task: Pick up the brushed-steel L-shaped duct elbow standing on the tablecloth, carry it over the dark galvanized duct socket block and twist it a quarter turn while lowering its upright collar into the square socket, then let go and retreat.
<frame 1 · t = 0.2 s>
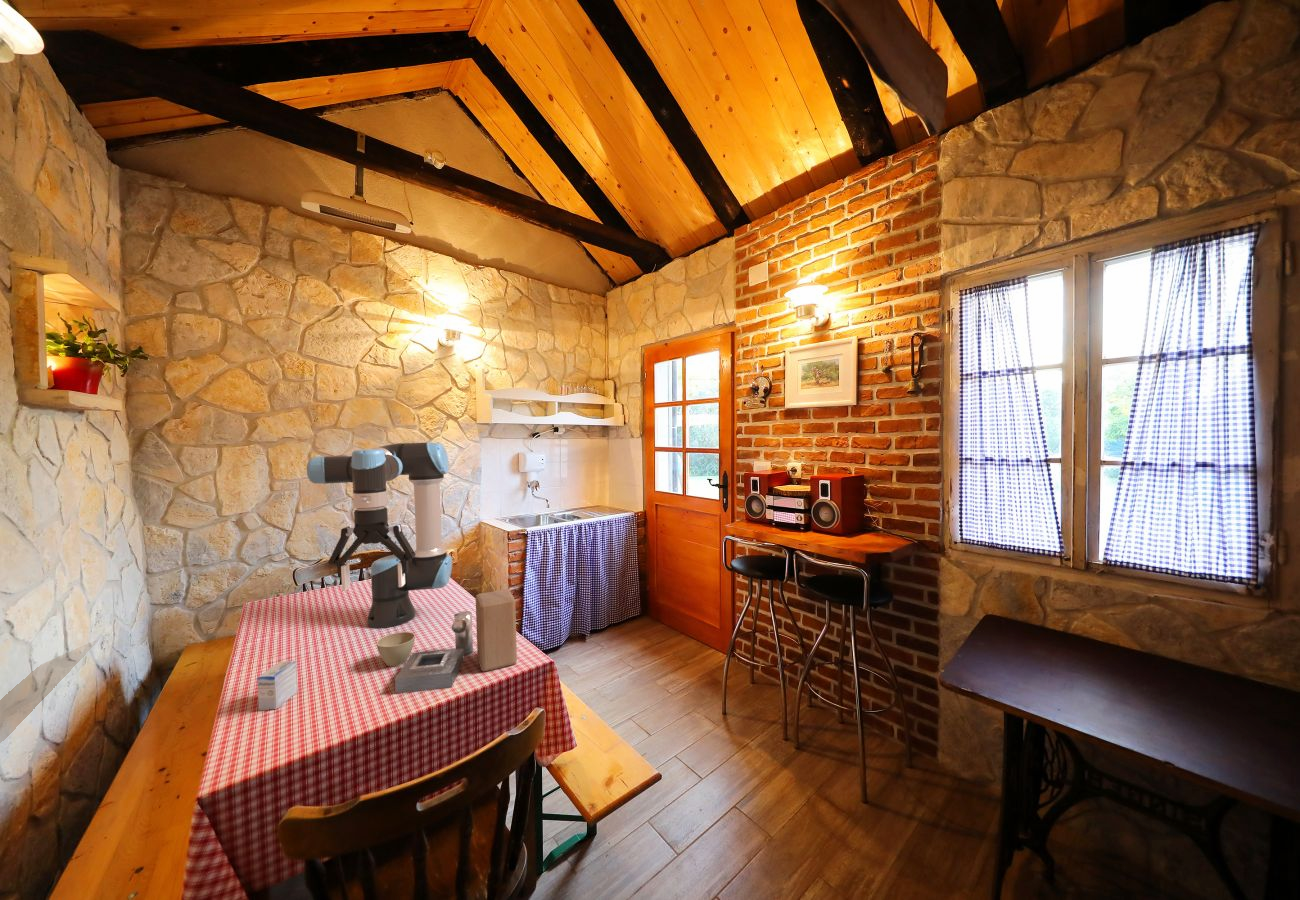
hand: (374, 587, 122), 28 cm above the table, fingers open, 13 cm apart
elbow: (464, 652, 143), on the table
duct socket: (431, 676, 129), on the table
flower pot: (397, 662, 137), on the table
block: (497, 662, 137), on the table
medicine box: (279, 701, 118), on the table
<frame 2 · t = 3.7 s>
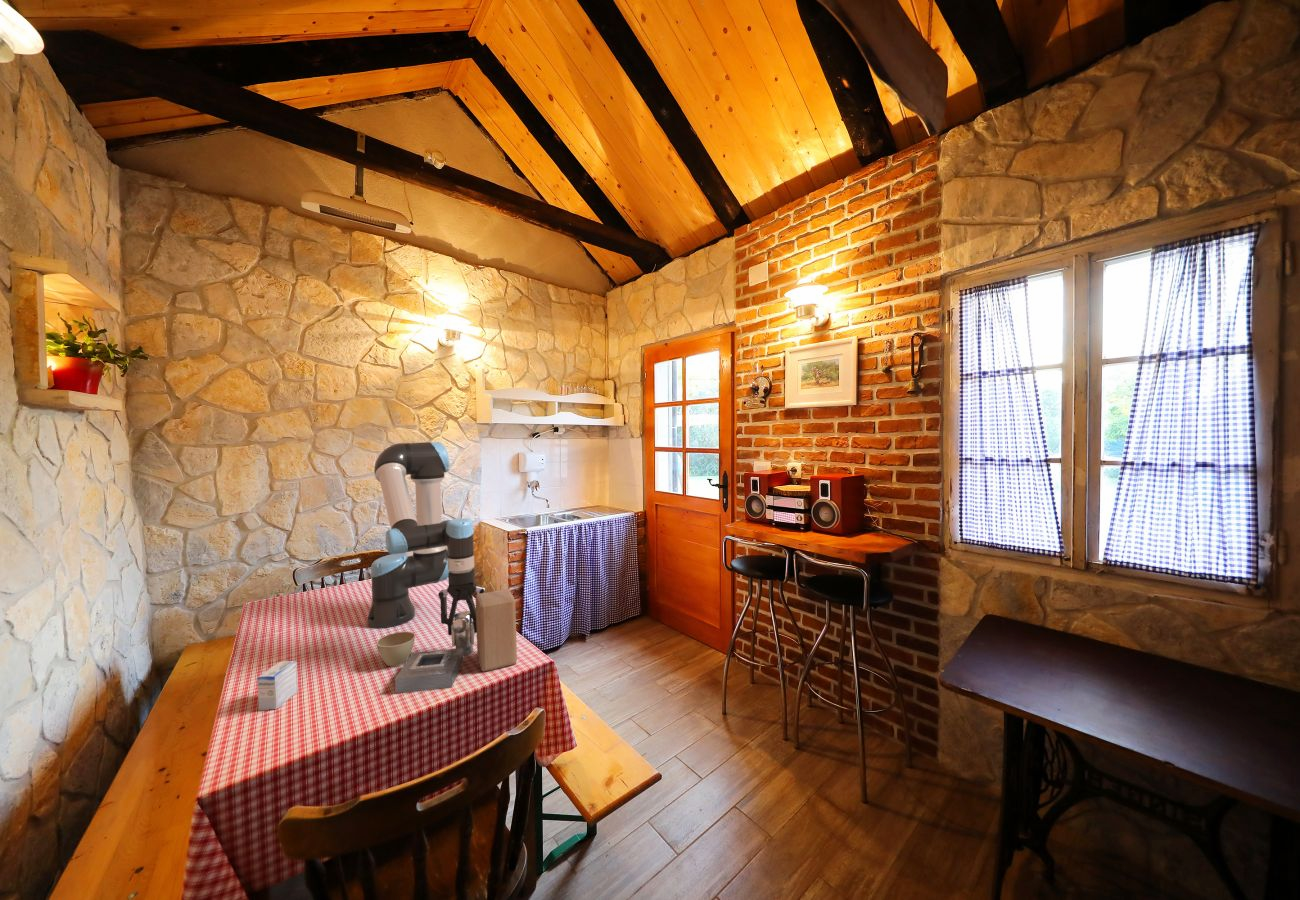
hand: (464, 643, 143), 3 cm above the table, fingers closed on elbow, 5 cm apart
elbow: (464, 652, 143), on the table, touching gripper
everything else where it was.
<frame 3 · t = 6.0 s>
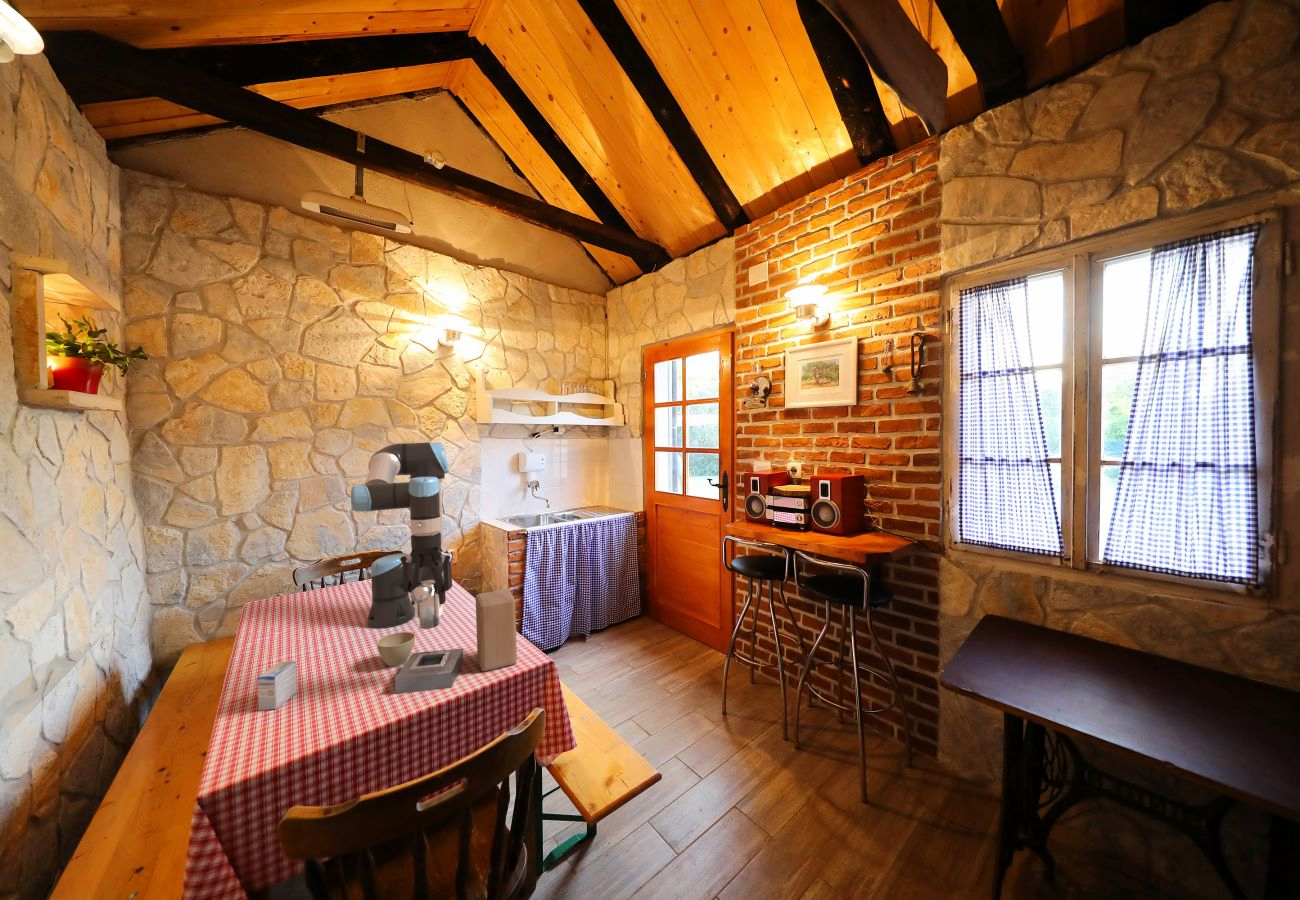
hand: (429, 615, 128), 17 cm above the table, fingers closed on elbow, 5 cm apart
elbow: (429, 625, 128), point 15 cm above the table, touching gripper
everything else where it was.
when the fingers open (6 cm above the table, at t = 8.5 s): elbow drops 3 cm, resting in duct socket.
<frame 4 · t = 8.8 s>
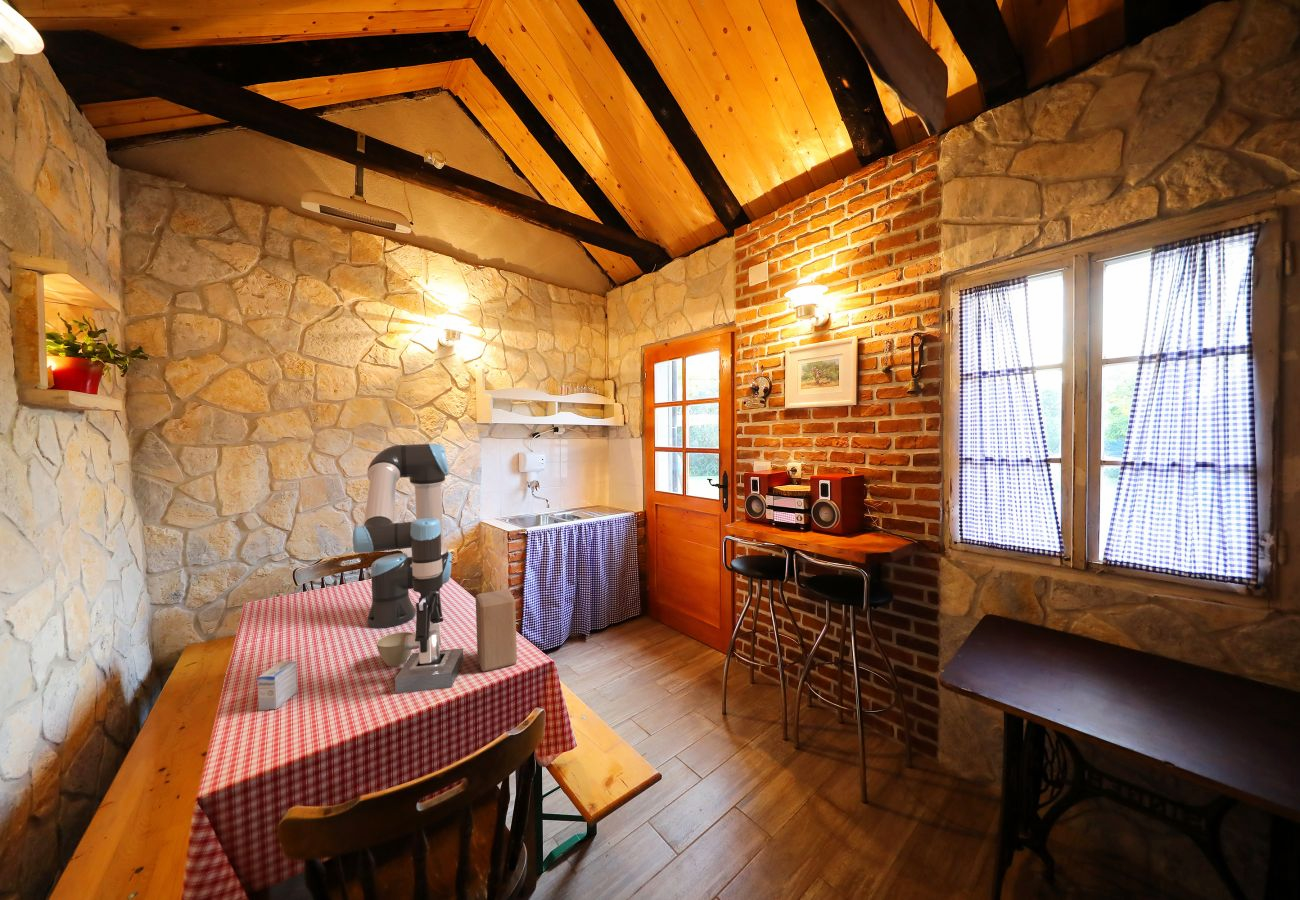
hand: (430, 653, 129), 6 cm above the table, fingers open, 9 cm apart
elbow: (432, 675, 129), resting in duct socket
everything else where it was.
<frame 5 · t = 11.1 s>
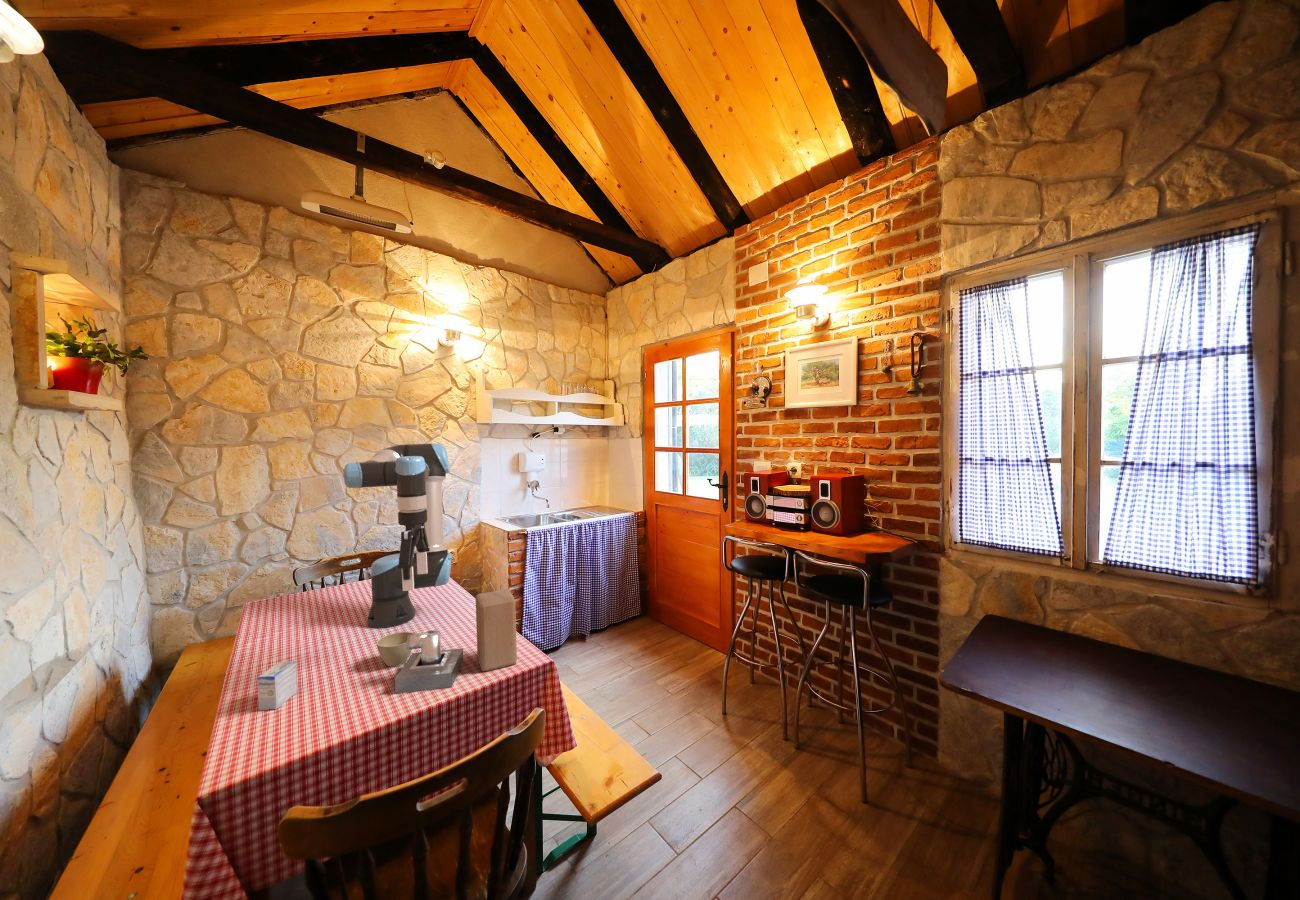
hand: (415, 581, 134), 25 cm above the table, fingers open, 13 cm apart
nothing on the table moved.
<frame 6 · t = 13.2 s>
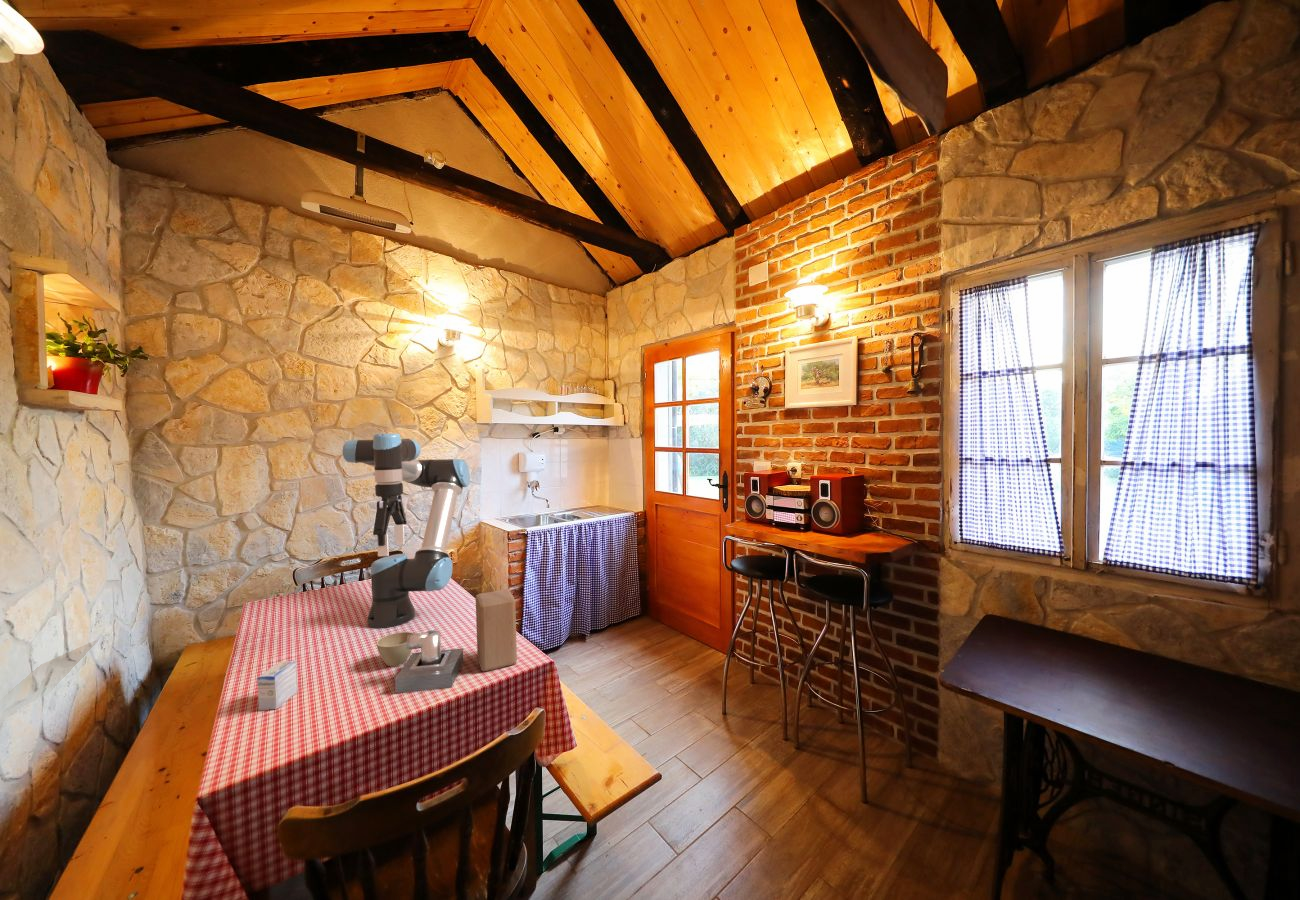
hand: (391, 550, 144), 32 cm above the table, fingers open, 13 cm apart
nothing on the table moved.
at the end: elbow 0.1 cm off-centre on the duct socket, point 0.0 cm above the duct socket's base; elbow tilted 0°; the gripper is holding nothing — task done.
